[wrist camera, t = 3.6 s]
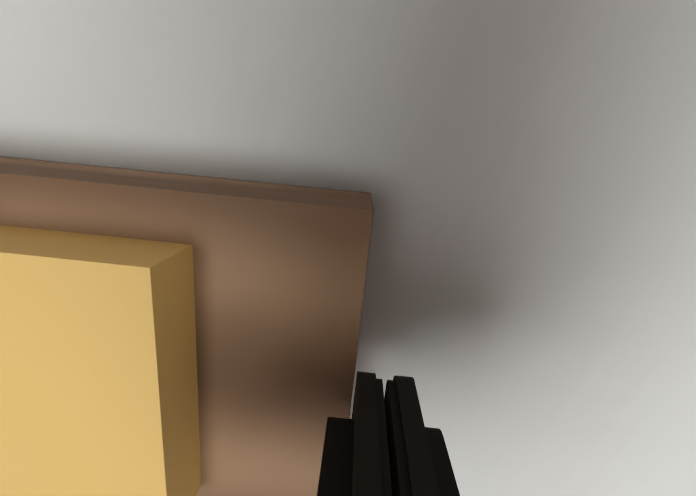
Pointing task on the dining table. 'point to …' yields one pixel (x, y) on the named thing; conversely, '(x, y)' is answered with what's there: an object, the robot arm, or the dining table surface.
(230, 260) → the brown wooden block
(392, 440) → the robot arm
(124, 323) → the yellow rectangular block
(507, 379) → the dining table surface
